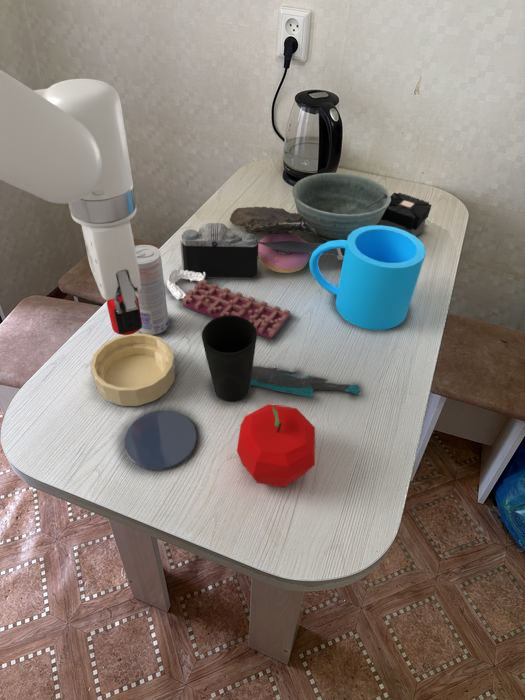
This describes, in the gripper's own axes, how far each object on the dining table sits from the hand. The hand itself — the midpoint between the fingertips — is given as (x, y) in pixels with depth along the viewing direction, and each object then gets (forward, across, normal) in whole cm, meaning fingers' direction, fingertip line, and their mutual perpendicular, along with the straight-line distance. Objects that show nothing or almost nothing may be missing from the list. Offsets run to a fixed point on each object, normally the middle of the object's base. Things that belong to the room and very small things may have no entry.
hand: (125, 318), depth 71 cm
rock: (+6, -24, +43) cm, 50 cm away
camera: (+13, -22, +23) cm, 34 cm away
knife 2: (+12, +10, +21) cm, 26 cm away
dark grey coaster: (+12, +13, 0) cm, 18 cm away
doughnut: (+12, -20, +36) cm, 43 cm away
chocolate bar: (+12, -9, +21) cm, 26 cm away
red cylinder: (+1, 0, 0) cm, 1 cm away
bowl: (+13, -26, +52) cm, 60 cm away
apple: (+12, +23, +13) cm, 29 cm away
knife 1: (+9, -13, +43) cm, 46 cm away
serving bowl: (+12, 0, 0) cm, 12 cm away
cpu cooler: (+10, -27, +66) cm, 72 cm away
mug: (+13, -3, +43) cm, 45 cm away
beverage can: (+13, -11, +6) cm, 18 cm away
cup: (+12, +8, +13) cm, 20 cm away
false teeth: (+13, -20, +14) cm, 28 cm away
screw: (+3, -18, +56) cm, 59 cm away
